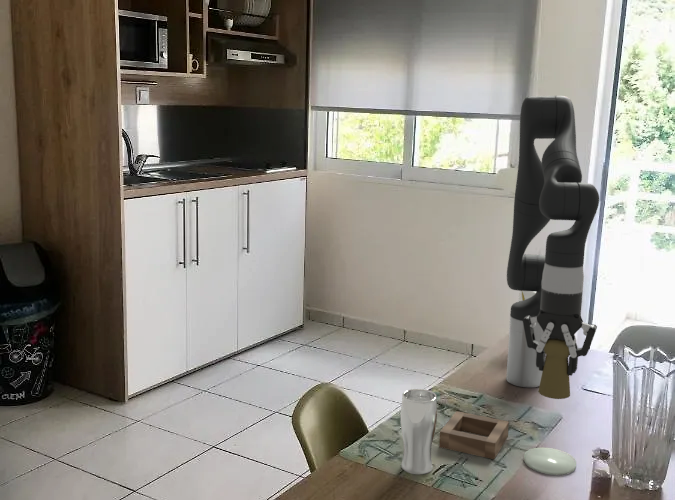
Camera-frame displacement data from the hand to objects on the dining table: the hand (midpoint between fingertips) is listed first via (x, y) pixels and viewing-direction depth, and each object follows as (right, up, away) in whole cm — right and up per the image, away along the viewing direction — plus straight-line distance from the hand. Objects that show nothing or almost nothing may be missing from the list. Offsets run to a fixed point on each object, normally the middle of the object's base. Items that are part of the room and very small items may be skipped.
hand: (555, 371), depth 144 cm
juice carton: (+13, -6, +68) cm, 70 cm away
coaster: (0, -19, +4) cm, 19 cm away
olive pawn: (0, -5, +1) cm, 5 cm away
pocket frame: (-14, -17, +12) cm, 25 cm away
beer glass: (-27, -19, +1) cm, 33 cm away
